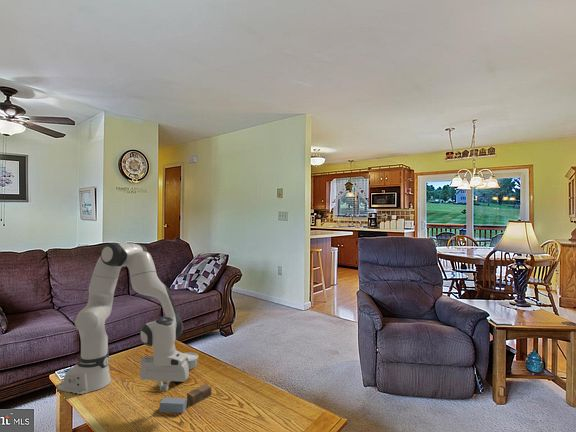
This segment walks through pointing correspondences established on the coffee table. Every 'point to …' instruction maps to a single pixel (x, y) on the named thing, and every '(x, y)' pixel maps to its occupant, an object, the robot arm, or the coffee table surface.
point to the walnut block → (198, 394)
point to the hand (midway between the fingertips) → (164, 389)
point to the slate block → (173, 405)
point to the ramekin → (192, 360)
